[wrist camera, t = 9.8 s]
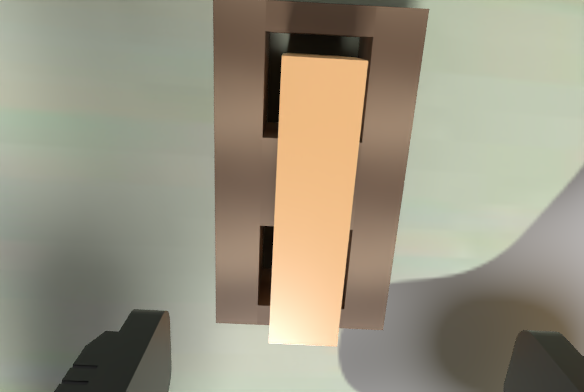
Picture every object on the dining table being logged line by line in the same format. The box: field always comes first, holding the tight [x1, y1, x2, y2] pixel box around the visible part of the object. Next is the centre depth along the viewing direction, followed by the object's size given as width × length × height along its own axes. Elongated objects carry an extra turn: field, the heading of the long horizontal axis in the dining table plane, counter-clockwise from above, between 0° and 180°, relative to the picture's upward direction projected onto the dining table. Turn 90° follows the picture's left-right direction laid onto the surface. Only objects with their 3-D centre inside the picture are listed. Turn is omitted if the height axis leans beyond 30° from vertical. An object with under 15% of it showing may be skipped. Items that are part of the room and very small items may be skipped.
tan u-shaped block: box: [269, 53, 368, 346], centre depth 21 cm, size 12×3×8 cm, turn 177°
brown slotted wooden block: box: [213, 0, 429, 330], centre depth 23 cm, size 16×9×4 cm, turn 177°
